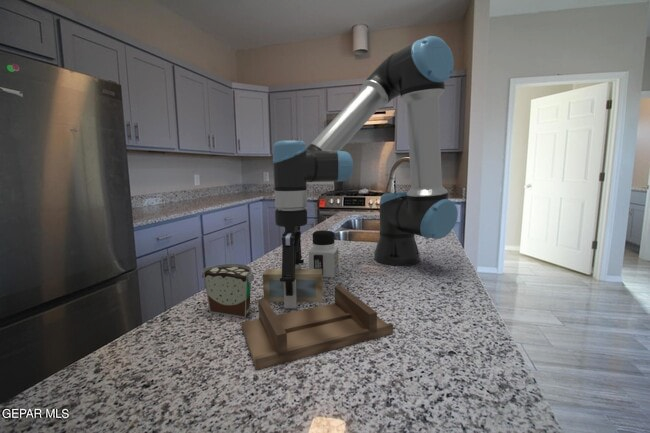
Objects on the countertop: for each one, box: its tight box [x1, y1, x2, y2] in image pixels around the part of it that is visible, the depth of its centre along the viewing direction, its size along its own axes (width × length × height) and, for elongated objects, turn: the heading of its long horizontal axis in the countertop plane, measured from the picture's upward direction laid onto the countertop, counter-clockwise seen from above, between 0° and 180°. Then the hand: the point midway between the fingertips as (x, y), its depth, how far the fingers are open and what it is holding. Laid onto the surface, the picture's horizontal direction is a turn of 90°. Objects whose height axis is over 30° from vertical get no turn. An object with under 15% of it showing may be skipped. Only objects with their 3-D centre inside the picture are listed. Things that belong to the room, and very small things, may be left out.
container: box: [307, 229, 339, 279], centre depth 94 cm, size 8×8×13 cm
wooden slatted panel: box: [240, 285, 394, 371], centre depth 61 cm, size 26×15×5 cm, turn 113°
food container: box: [201, 263, 255, 319], centre depth 70 cm, size 12×6×10 cm, turn 71°
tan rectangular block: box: [262, 268, 324, 303], centre depth 76 cm, size 14×4×7 cm, turn 88°
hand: (293, 297), depth 77 cm, fingers open, 11 cm apart
